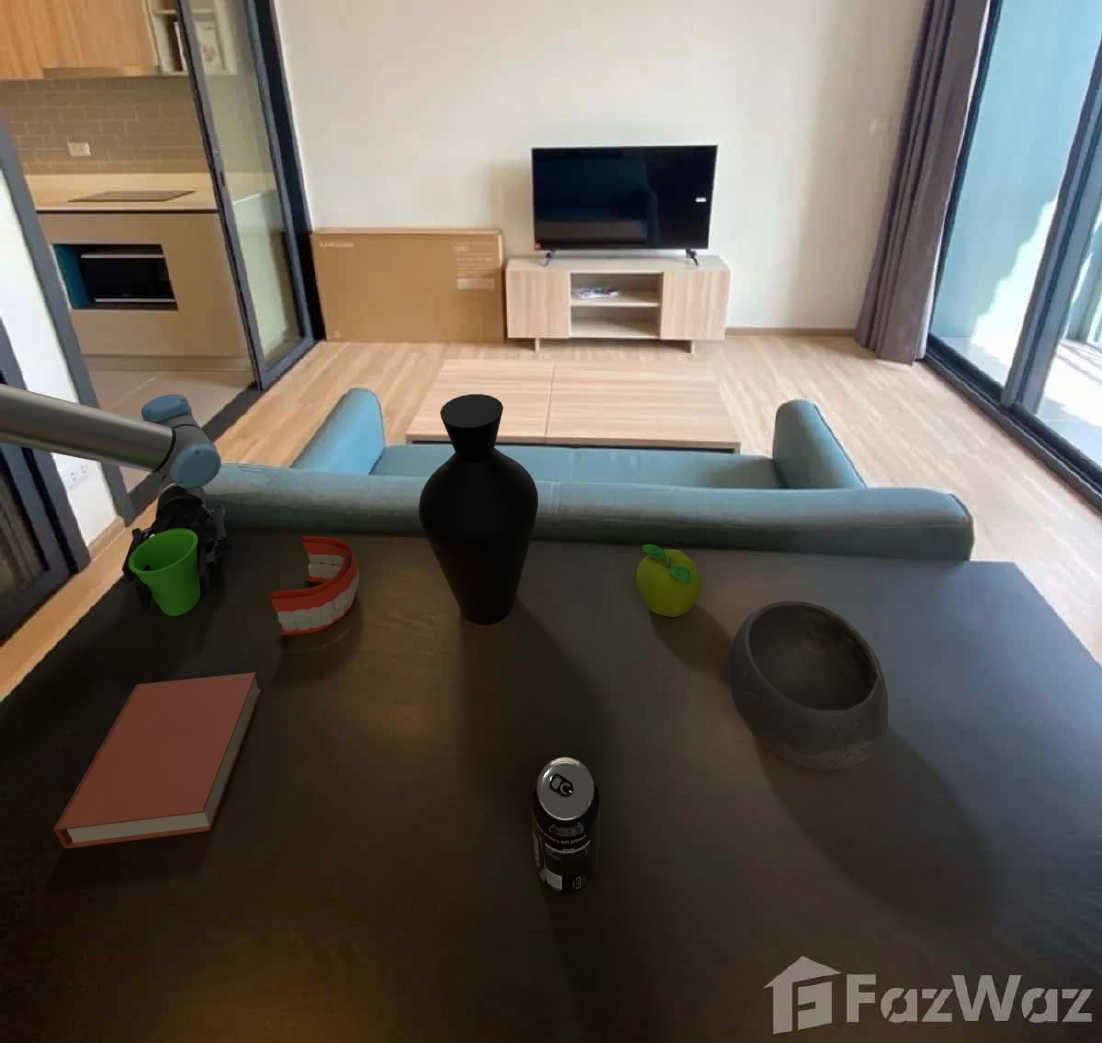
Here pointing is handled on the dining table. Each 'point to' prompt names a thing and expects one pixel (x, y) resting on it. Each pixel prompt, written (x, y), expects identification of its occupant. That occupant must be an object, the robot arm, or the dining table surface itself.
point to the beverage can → (566, 825)
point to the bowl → (808, 685)
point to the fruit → (668, 581)
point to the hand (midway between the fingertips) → (174, 592)
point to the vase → (479, 511)
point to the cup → (169, 569)
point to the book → (162, 762)
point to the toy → (319, 588)
